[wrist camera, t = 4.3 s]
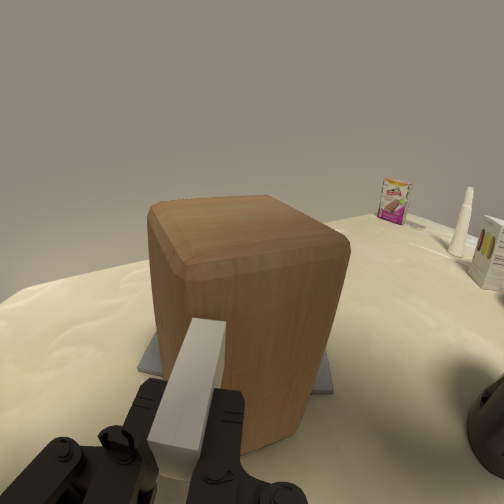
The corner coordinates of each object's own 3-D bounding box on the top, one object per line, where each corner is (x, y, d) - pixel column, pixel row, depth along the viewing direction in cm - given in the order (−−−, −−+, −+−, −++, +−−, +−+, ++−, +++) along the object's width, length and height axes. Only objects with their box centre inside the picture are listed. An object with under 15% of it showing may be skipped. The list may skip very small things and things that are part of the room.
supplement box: (466, 273, 66) (483, 214, 59) (489, 277, 64) (506, 220, 58) (481, 289, 57) (502, 224, 51) (505, 292, 56) (525, 231, 49)
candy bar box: (376, 217, 112) (383, 177, 106) (381, 216, 115) (387, 177, 109) (401, 225, 105) (409, 184, 99) (405, 224, 108) (413, 183, 102)
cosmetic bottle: (452, 256, 77) (469, 187, 69) (444, 249, 83) (458, 183, 75) (466, 258, 77) (482, 191, 69) (457, 251, 83) (472, 187, 74)
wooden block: (165, 392, 28) (144, 198, 19) (251, 369, 32) (271, 191, 24) (199, 472, 20) (179, 262, 12) (299, 435, 24) (361, 237, 16)
